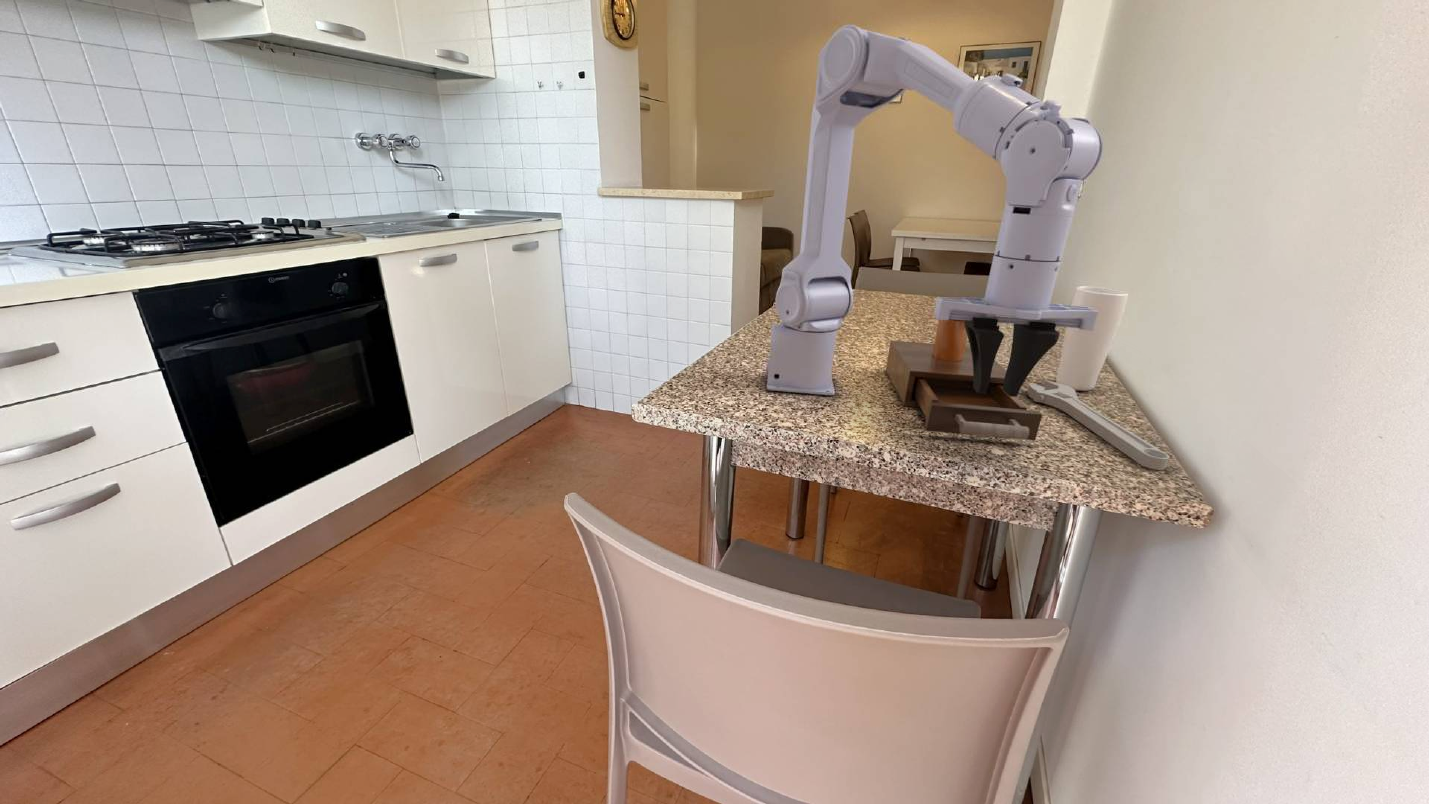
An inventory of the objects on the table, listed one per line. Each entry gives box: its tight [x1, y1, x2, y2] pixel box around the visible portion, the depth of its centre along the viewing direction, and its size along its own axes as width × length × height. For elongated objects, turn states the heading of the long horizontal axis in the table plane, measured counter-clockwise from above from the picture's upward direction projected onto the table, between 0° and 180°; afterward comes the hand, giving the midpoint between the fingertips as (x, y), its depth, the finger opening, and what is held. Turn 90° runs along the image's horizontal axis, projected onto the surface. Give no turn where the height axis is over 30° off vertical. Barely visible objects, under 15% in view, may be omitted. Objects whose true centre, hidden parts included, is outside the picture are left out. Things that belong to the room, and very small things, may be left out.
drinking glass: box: [1055, 285, 1130, 392], centre depth 86 cm, size 7×7×15 cm
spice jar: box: [932, 319, 968, 361], centre depth 81 cm, size 4×4×7 cm
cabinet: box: [885, 340, 1007, 408], centre depth 83 cm, size 16×14×5 cm
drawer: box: [912, 377, 1043, 441], centre depth 71 cm, size 18×12×3 cm
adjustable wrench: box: [1026, 380, 1170, 471], centre depth 74 cm, size 25×6×2 cm, turn 176°
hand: (994, 392), depth 59 cm, fingers closed
